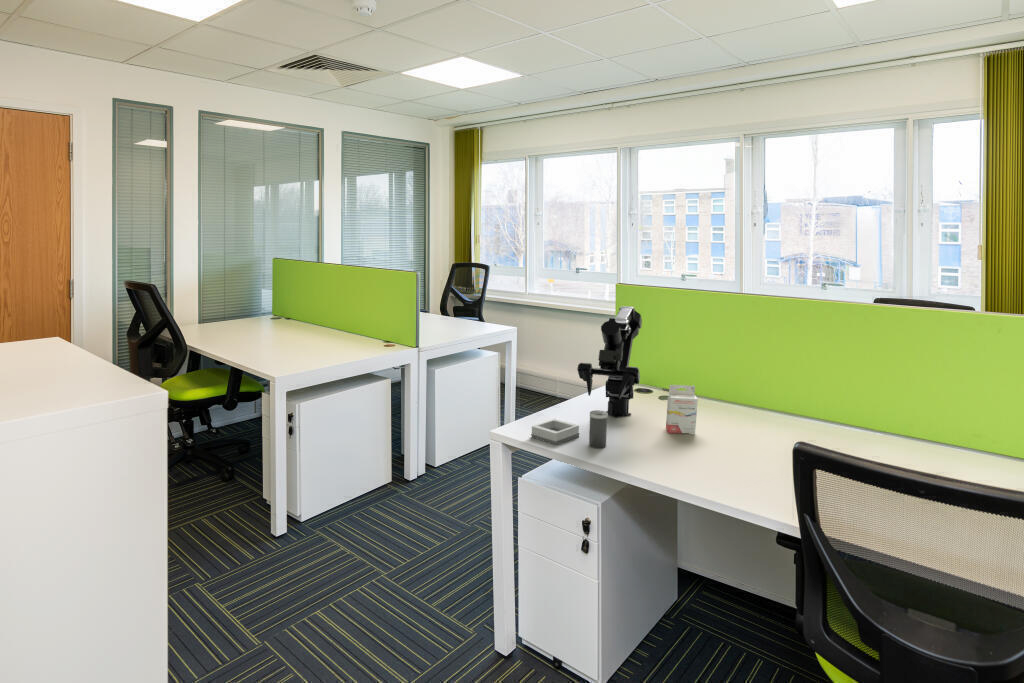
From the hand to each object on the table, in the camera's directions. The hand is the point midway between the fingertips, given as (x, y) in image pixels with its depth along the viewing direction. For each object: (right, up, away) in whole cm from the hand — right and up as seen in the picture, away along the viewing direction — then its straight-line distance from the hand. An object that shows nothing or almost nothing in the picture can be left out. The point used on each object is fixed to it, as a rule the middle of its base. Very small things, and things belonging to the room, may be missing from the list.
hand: (603, 396), depth 186 cm
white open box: (-15, -13, +3) cm, 19 cm away
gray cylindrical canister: (-3, -14, -4) cm, 15 cm away
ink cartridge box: (+26, -12, +9) cm, 30 cm away
